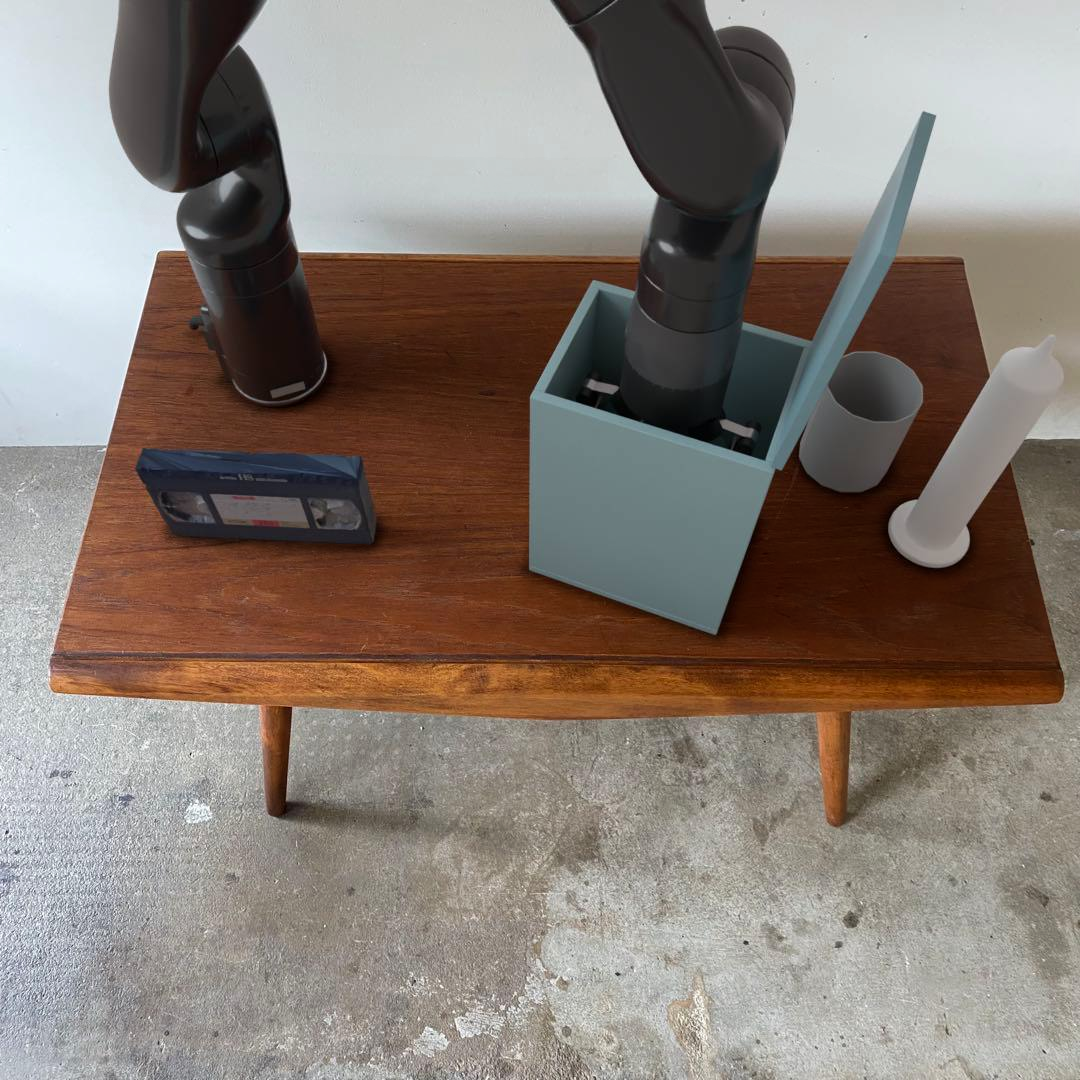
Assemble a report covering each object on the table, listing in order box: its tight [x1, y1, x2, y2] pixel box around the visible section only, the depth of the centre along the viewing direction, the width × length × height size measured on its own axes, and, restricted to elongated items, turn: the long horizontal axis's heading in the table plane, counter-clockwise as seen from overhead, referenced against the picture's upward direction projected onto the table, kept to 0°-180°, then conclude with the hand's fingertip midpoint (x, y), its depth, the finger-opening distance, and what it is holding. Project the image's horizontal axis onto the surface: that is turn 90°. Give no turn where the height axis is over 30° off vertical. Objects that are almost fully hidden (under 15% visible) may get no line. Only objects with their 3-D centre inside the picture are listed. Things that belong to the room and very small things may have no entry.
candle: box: [887, 333, 1065, 569], centre depth 77 cm, size 7×7×25 cm
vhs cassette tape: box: [134, 447, 378, 545], centre depth 82 cm, size 18×3×10 cm, turn 86°
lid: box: [770, 110, 937, 471], centre depth 57 cm, size 18×13×1 cm
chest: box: [528, 279, 813, 636], centre depth 77 cm, size 17×13×23 cm
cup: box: [798, 351, 924, 493], centre depth 88 cm, size 8×8×10 cm
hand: (652, 490), depth 79 cm, fingers closed on snail figurine, 6 cm apart
